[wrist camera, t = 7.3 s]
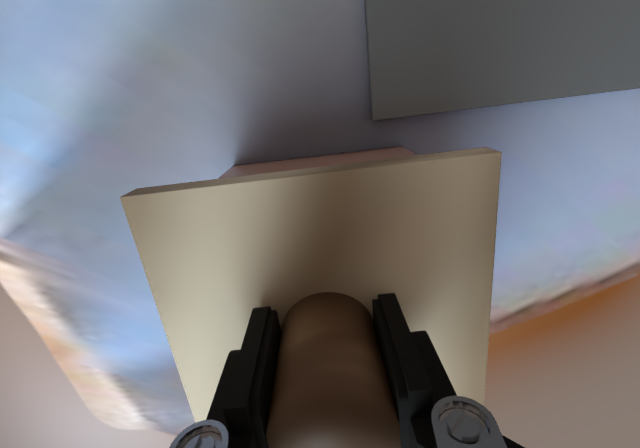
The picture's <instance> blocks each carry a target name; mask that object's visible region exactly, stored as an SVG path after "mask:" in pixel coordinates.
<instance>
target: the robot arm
mask: <svg viewBox="0 0 640 448" xmlns="http://www.w3.org/2000/svg"><path fill="white" fill-rule="evenodd" d="M372 306H373V320H374V326H375V330H376V334H377V338H378V341H379V345H380V349H381V353H382V357H383V361H384V365H385V369H386V373H387V377H388V381H389V384H390V388H391V392H392V396H393V400H394V404H395V408H396V412H397V416H398V420H399V424H400V442H401V448H524V447H523V446H521V445H519V444H517V443H515V442H514V441H512V440H510V439H508V438H506V437H505V436H503V435H502V434H501V432H500V430H499V427H498V425H497V423H496V421H495V419H494V417H493V415H492V414H491V412H490V411H488V410H487V409H486V408H485V407H484V406H483V405H482V404H480V403H478V402H477V401H475V400H473V399H470V398H467V397H463V396H457V394H456V392H455V390H454V388H453V386H452V384H451V382H450V380H449V377H448V375H447V373H446V371H445V369H444V367H443V365H442V363H441V360H440V358H439V356H438V354H437V352H436V350H435V348H434V346H433V343H432V341H431V339H430V337H429V335H428V333H427V332H426V331H425V330H423V331H413V332H410V330H409V327H408V325H407V322H406V320H405V317H404V315H403V312H402V310H401V307H400V305H399V302H398V300H397V297H396V295H395V293H388V294H378V299H373V300H372ZM280 336H281V329H280V324H279V319H278V314H277V310H271V307H270V306H266V307H257V308H253V310H252V313H251V316H250V319H249V323H248V326H247V329H246V333H245V336H244V339H243V343H242V346H241V349H239V350H231V351H230V352H229V354H228V357H227V359H226V362H225V365H224V368H223V371H222V374H221V377H220V380H219V383H218V386H217V389H216V392H215V395H214V398H213V401H212V404H211V407H210V409H209V412H208V415H207V418H206V420H203V421H200V422H197V423H194V424H192V425H191V426H189V427H187V428H186V429H184V430H183V431H182V432H181V433H180V434H179V435H178V436H177V437H176V438H175V440H174V441H173V442H172V443H171V446H170V448H268V445H267V441H266V431H267V424H268V417H269V410H270V403H271V397H272V390H273V383H274V376H275V370H276V363H277V356H278V349H279V342H280Z"/></svg>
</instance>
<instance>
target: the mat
mask: <svg viewBox="0 0 640 448" xmlns="http://www.w3.org/2000/svg"><path fill="white" fill-rule="evenodd" d="M364 3H365V19H366V36H367V52H368V69H369V85H370V102H371V118H372V120H373V121H374V120H382V119H391V118H399V117H407V116H415V115H423V114H431V113H440V112H448V111H456V110H464V109H472V108H481V107H489V106H497V105H505V104H513V103H522V102H530V101H538V100H546V99H554V98H563V97H571V96H579V95H587V94H595V93H604V92H612V91H620V90H628V89H636V88H640V0H364Z"/></svg>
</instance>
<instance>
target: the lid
mask: <svg viewBox="0 0 640 448" xmlns="http://www.w3.org/2000/svg"><path fill="white" fill-rule="evenodd" d="M500 167H501V152H499V151H496V150H493V149H489V148H486V147H482V148H474V149H465V150H457V151H449V152H440V153H432V154H423V155H415V156H407V157H398V158H390V159H381V160H373V161H365V162H356V163H348V164H339V165H331V166H323V167H314V168H306V169H297V170H289V171H281V172H272V173H264V174H255V175H247V176H239V177H230V178H222V179H213V180H205V181H197V182H188V183H180V184H172V185H163V186H155V187H146V188H138V189H135V190H133V191H131V192H129V193H127V194H125V195H123V196H121V197H120V199H121V202H122V205H123V208H124V211H125V214H126V217H127V220H128V223H129V226H130V229H131V232H132V235H133V238H134V241H135V244H136V247H137V250H138V253H139V256H140V259H141V262H142V265H143V268H144V271H145V274H146V276H147V279H148V282H149V285H150V288H151V291H152V294H153V297H154V300H155V303H156V306H157V309H158V312H159V315H160V318H161V321H162V324H163V327H164V330H165V333H166V336H167V339H168V342H169V345H170V348H171V351H172V354H173V357H174V360H175V363H176V366H177V369H178V372H179V375H180V378H181V381H182V384H183V387H184V390H185V393H186V396H187V398H188V401H189V404H190V407H191V410H192V413H193V416H194V419H195V422H196V423H197V422H200V421H203V420H206V418H207V415H208V412H209V409H210V407H211V404H212V401H213V398H214V395H215V392H216V389H217V386H218V383H219V380H220V377H221V374H222V371H223V368H224V365H225V362H226V359H227V357H228V354H229V352H230V351H231V350H239V349H241V346H242V343H243V339H244V336H245V333H246V329H247V326H248V323H249V319H250V316H251V313H252V310H253V308H257V307H266V306H270V307H271V310H277V314H278V319H279V324H280V329H281V336H280V342H279V349H278V356H277V363H276V370H275V376H274V383H273V390H272V397H271V403H270V410H269V417H268V424H267V431H266V441H267V445H268V448H401V442H400V424H399V420H398V416H397V412H396V408H395V404H394V400H393V396H392V392H391V388H390V384H389V381H388V377H387V373H386V369H385V365H384V361H383V357H382V353H381V349H380V345H379V341H378V338H377V334H376V330H375V326H374V320H373V306H372V300H373V299H378V294H388V293H395V295H396V297H397V300H398V302H399V305H400V307H401V310H402V312H403V315H404V317H405V320H406V322H407V325H408V327H409V330H410V332H413V331H423V330H425V331H426V332H427V333H428V335H429V337H430V339H431V341H432V343H433V346H434V348H435V350H436V352H437V354H438V356H439V358H440V360H441V363H442V365H443V367H444V369H445V371H446V373H447V375H448V377H449V380H450V382H451V384H452V386H453V388H454V390H455V392H456V394H457V396H463V397H467V398H470V399H473V400H475V401H477V402H478V403H480V404H482V405H483V406H484V397H485V382H486V368H487V354H488V340H489V325H490V311H491V296H492V282H493V267H494V253H495V239H496V224H497V210H498V195H499V181H500Z"/></svg>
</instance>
